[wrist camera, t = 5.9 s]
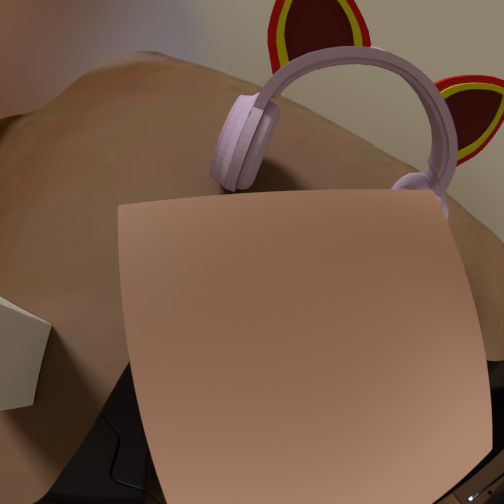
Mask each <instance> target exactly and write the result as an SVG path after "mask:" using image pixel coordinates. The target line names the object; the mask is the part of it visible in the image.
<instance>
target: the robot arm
mask: <svg viewBox="0 0 504 504" xmlns="http://www.w3.org/2000/svg"><path fill="white" fill-rule="evenodd" d="M486 362H487V369H488V377H489V386H490V396H491V410H492V450H491V451H490V452H489V453H488V454H487V455H486V456H485V457H484V458H483V459H482V460H481V461H480V462H479V463H478V464H477V465H476V466H475V467H474V468H473V469H472V470H471V471H470V472H469V473H468V474H467V475H466V476H465V477H464V478H462V479H461V480H460V481H459V482H458V483H457V484H456V485H454V486H453V487H452V488H451V489H450V490H449V491H447V492H446V493H445V494H444V495H442V496H441V497H440V498H439V499H437V500H436V501H435V502H433V503H432V504H437V503H438V502H440V501H441V500H443V499H444V498H445V497H447V496H448V495H450V494H451V493H453V494H454V496H455V497H456V498H457V500H458V501H459V502H460V503H461V504H504V360H502V361H488V360H486ZM33 504H167V502H166V499H165V496H164V493H163V491H162V488H161V485H160V482H159V479H158V476H157V473H156V469H155V466H154V463H153V460H152V456H151V453H150V449H149V446H148V442H147V439H146V435H145V431H144V427H143V423H142V419H141V415H140V410H139V406H138V401H137V397H136V392H135V387H134V381H133V376H132V371H131V365H130V361H129V363H128V364H127V366H126V368H125V370H124V371H123V373H122V375H121V376H120V378H119V380H118V382H117V383H116V385H115V387H114V388H113V390H112V392H111V394H110V396H109V397H108V399H107V401H106V403H105V404H104V406H103V408H102V410H101V414H99V415H98V417H97V418H96V420H95V422H94V424H93V426H92V427H91V429H90V431H89V432H88V434H87V436H86V438H85V439H84V441H83V442H82V444H81V445H80V447H79V448H78V450H77V451H76V453H75V454H74V456H73V457H72V458H71V460H70V461H69V463H68V464H67V465H66V467H65V468H64V470H63V471H62V472H61V474H60V475H59V477H58V478H57V480H56V481H55V482H54V484H53V485H52V487H51V488H50V489H49V491H48V492H47V493H46V494H45V495H44V496H43V497H42V498H41V499H39V500H38V501H37V502H35V503H33Z"/></svg>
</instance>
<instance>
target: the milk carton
mask: <svg viewBox="0 0 504 504" xmlns="http://www.w3.org/2000/svg"><path fill="white" fill-rule="evenodd" d="M51 326H52V325H51V324H50V323H48V322H46V321H44V320H42V319H40V318H38V317H36V316H34V315H32V314H30V313H28V312H27V311H25V310H23V309H21V308H19V307H17V306H16V305H14V304H12V303H10V302H9V301H7V300H5V299H3V298H2V297H0V411H2V410H8V409H14V408H20V407H25V406H30V405H33V402H34V396H35V391H36V386H37V381H38V376H39V372H40V368H41V363H42V359H43V355H44V351H45V348H46V344H47V340H48V337H49V333H50V330H51Z"/></svg>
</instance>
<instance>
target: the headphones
mask: <svg viewBox="0 0 504 504" xmlns="http://www.w3.org/2000/svg"><path fill="white" fill-rule="evenodd" d="M268 49H269V55H270V61H271V67H272V73H273V76H272V77H271V78H270V79H269V81H268V82H267V83H266V84H265V86H264V87H263V88H262V90H261V91H260V92H259V93H257V94H255V95H254V96H245V95H240V96H239V97H238V99H237V100H236V102H235V103H234V105H233V107H232V109H231V111H230V113H229V115H228V117H227V119H226V121H225V124H224V126H223V129H222V131H221V134H220V137H219V139H218V142H217V145H216V148H215V152H214V155H213V159H212V163H211V169H210V177H212V178H214V179H216V180H217V181H219V182H220V183H221V184H222V186H223V187H224V188H225V189H227V190H230V191H233V192H235V190H236V188H238V189H241V190H245V189H247V188H249V187H250V186H251V185H252V184H253V182H254V180H255V177H256V175H257V172H258V170H259V167H260V164H261V162H262V159H263V157H264V154H265V152H266V149H267V147H268V144H269V141H270V139H271V136H272V134H273V131H274V129H275V126H276V124H277V121H278V118H279V115H280V111H279V108H278V106H277V105H276V104H275V103H273V102H271V101H270V100H271V97H272V98H277V97H278V96H279V95H280V94H281V93H282V91H283V90H284V89H285V88H286V87H287V86H288V85H289V84H290V83H292V82H293V81H294V80H296V79H298V78H299V77H301V76H302V75H305V74H307V73H309V72H311V71H314V70H317V69H321V68H325V67H330V66H336V65H345V64H364V65H372V66H377V67H381V68H384V69H388V70H390V71H392V72H394V73H396V74H399V75H400V76H401V77H403V78H404V79H405V80H406V81H407V83H408V84H410V86H411V87H412V88H413V89H414V91H415V92H416V93H417V95H418V96H419V98H420V100H421V102H422V104H423V106H424V108H425V111H426V113H427V115H428V119H429V122H430V125H431V132H432V148H431V153H430V157H429V159H428V164H429V165H428V167H427V169H426V171H425V172H424V173H422V172H420V173H410V174H407V175H405V176H403V177H402V178H401V179H399V180H398V181H397V182H396V183H395V185H394V186H393V187H392V189H403V190H434V192H435V194H436V197H437V199H438V201H439V203H440V206H441V208H442V210H443V212H444V215H445V217H446V220H447V219H448V201H447V197H446V195H445V192H446V190H447V188H448V186H449V184H450V182H451V180H452V177H453V175H454V172H455V168H456V167H457V166H458V165H460V164H462V163H463V162H465V161H467V160H469V159H470V158H472V157H474V156H475V155H476V154H478V153H479V152H480V151H481V150H482V149H483V148H484V147H485V146H486V145H487V144H488V143H489V141H490V140H491V139H492V138H493V136H494V135H495V134H496V132H497V131H498V129H499V127H500V126H501V124H502V122H503V121H504V80H501V79H499V78H496V77H493V76H485V75H462V76H454V77H449V78H445V79H442V80H440V81H438V82H435V83H433V82H432V81H431V80H430V79H429V78H428V77H427V76H426V75H425V74H424V73H423V72H422V71H420V70H419V69H418V68H417V67H415V66H414V65H412V64H411V63H410V62H408V61H406V60H404V59H402V58H400V57H398V56H396V55H394V54H392V53H390V52H387V51H385V50H382V49H380V48H377V47H373V46H371V42H370V36H369V31H368V29H367V26H366V24H365V21H364V19H363V16H362V14H361V12H360V10H359V9H358V7H357V5H356V3H355V1H354V0H276V2H275V5H274V7H273V11H272V14H271V17H270V23H269V27H268Z"/></svg>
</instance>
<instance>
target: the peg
mask: <svg viewBox="0 0 504 504" xmlns="http://www.w3.org/2000/svg"><path fill="white" fill-rule="evenodd" d="M118 246H119V268H120V283H121V295H122V305H123V315H124V323H125V331H126V339H127V346H128V353H129V359H130V365H131V371H132V376H133V381H134V387H135V392H136V397H137V401H138V406H139V410H140V415H141V419H142V423H143V427H144V431H145V435H146V439H147V442H148V446H149V449H150V453H151V456H152V460H153V463H154V466H155V469H156V473H157V476H158V479H159V482H160V485H161V488H162V491H163V493H164V496H165V499H166V502H167V504H432V503H433V502H435V501H436V500H437V499H439V498H440V497H441V496H442V495H444V494H445V493H446V492H447V491H449V490H450V489H451V488H452V487H453V486H454V485H456V484H457V483H458V482H459V481H460V480H461V479H462V478H464V477H465V476H466V475H467V474H468V473H469V472H470V471H471V470H472V469H473V468H474V467H475V466H476V465H477V464H478V463H479V462H480V461H481V460H482V459H483V458H484V457H485V456H486V455H487V454H488V453H489V452H490V451H491V450H492V410H491V396H490V386H489V377H488V369H487V362H486V356H485V350H484V344H483V339H482V334H481V329H480V324H479V320H478V315H477V311H476V307H475V303H474V299H473V296H472V292H471V289H470V285H469V282H468V278H467V275H466V272H465V269H464V266H463V263H462V260H461V257H460V254H459V251H458V248H457V245H456V243H455V240H454V237H453V235H452V232H451V230H450V227H449V225H448V222H447V220H446V217H445V215H444V212H443V210H442V208H441V206H440V203H439V201H438V199H437V197H436V194H435V192H434V190H403V189H334V190H299V191H275V192H257V193H241V194H226V195H213V196H201V197H190V198H180V199H170V200H160V201H151V202H142V203H134V204H126V205H118Z"/></svg>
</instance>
